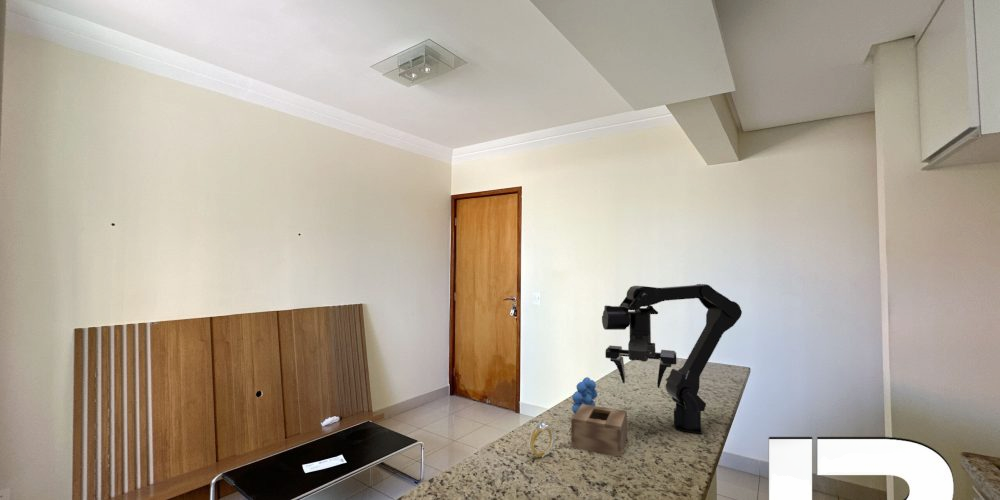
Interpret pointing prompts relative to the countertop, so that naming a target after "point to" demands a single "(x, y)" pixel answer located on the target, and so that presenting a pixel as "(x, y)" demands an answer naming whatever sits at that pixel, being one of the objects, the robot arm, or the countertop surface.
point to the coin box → (599, 429)
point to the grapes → (584, 394)
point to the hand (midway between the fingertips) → (640, 385)
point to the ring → (534, 436)
